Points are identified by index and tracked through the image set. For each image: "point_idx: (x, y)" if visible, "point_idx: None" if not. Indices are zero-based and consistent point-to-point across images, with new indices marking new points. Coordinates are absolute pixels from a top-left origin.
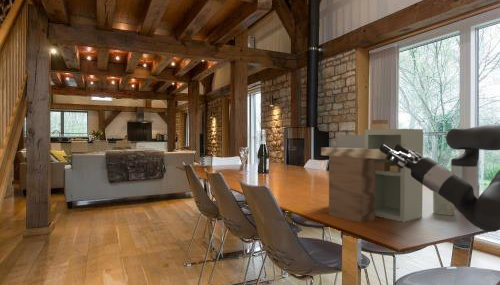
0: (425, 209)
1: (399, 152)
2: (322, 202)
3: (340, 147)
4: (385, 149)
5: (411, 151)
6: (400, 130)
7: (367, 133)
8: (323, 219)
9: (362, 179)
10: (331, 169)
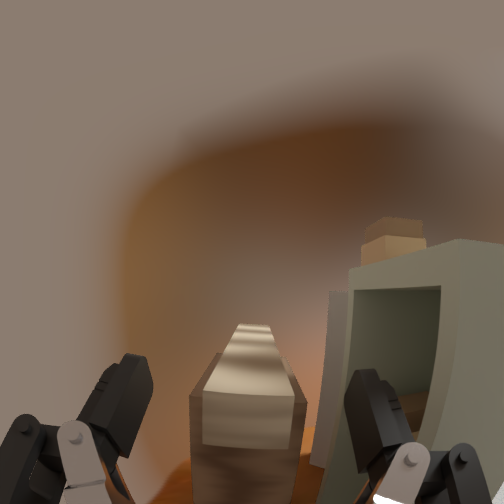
0: (498, 495)
1: (86, 485)
2: (305, 438)
3: (331, 327)
4: (92, 397)
5: (422, 475)
6: (438, 256)
7: (353, 284)
8: (161, 493)
9: (200, 473)
10: None
